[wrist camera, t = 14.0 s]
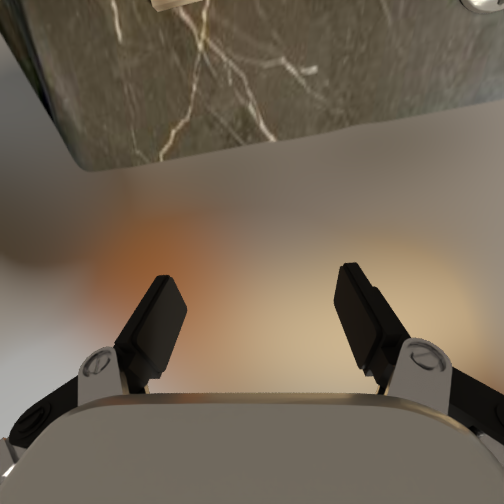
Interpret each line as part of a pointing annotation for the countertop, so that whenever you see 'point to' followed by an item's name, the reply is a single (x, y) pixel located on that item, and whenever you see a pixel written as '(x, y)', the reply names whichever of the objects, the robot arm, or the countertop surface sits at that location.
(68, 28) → the countertop surface
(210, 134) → the countertop surface
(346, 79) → the countertop surface
